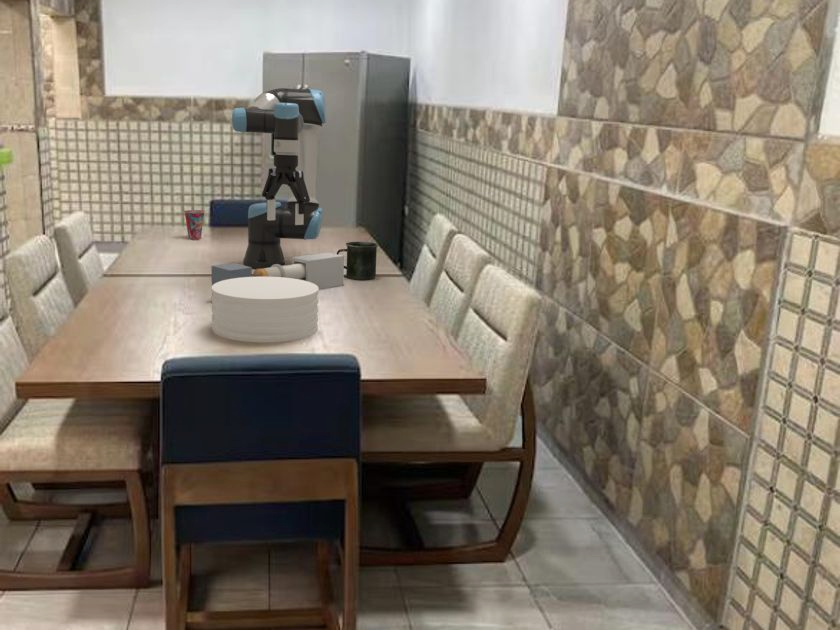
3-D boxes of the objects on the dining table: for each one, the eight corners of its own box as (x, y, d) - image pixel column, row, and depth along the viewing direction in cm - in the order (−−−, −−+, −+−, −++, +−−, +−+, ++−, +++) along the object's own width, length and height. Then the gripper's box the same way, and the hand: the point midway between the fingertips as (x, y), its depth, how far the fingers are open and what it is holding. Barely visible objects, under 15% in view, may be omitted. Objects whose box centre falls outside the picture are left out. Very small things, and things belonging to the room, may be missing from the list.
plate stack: (223, 346, 208) (222, 301, 205) (203, 318, 233) (203, 278, 230) (331, 339, 219) (332, 296, 216) (301, 313, 244) (302, 274, 241)
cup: (202, 241, 356) (201, 212, 353) (182, 240, 356) (181, 211, 353) (207, 237, 365) (207, 210, 362) (188, 236, 365) (187, 209, 362)
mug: (376, 281, 293) (377, 247, 290) (334, 279, 292) (335, 245, 289) (377, 275, 303) (378, 242, 300) (336, 273, 303) (337, 240, 300)
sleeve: (327, 281, 289) (328, 252, 286) (343, 285, 284) (344, 255, 281) (291, 287, 277) (292, 257, 274) (307, 291, 272) (308, 260, 269)
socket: (233, 296, 260) (233, 262, 258) (251, 301, 254) (251, 267, 252) (211, 299, 254) (211, 265, 252) (230, 305, 249) (229, 270, 246)
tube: (326, 274, 287) (327, 255, 285) (340, 277, 283) (340, 258, 281) (251, 285, 263) (251, 265, 262) (264, 289, 259) (265, 268, 257)
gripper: (251, 151, 266) (250, 218, 270) (303, 156, 250) (302, 227, 254) (269, 152, 271) (269, 217, 276) (322, 156, 255) (320, 226, 260)
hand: (285, 222), depth 265 cm, fingers open, 13 cm apart
